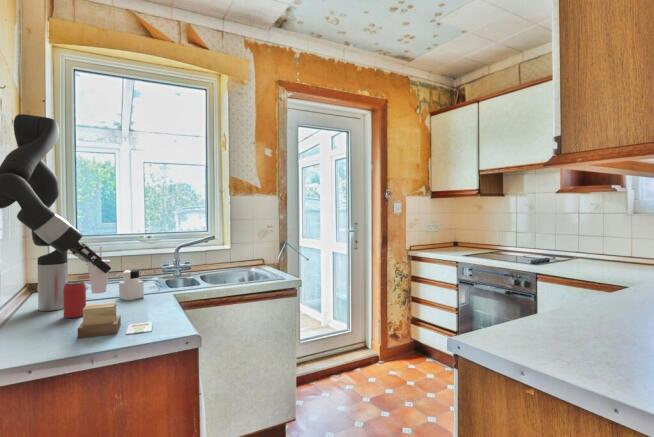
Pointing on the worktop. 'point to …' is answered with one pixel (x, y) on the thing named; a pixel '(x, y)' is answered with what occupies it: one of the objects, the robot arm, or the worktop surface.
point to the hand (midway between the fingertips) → (105, 269)
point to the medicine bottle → (131, 286)
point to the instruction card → (139, 328)
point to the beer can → (74, 299)
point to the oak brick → (99, 313)
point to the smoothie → (98, 276)
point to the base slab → (99, 329)
